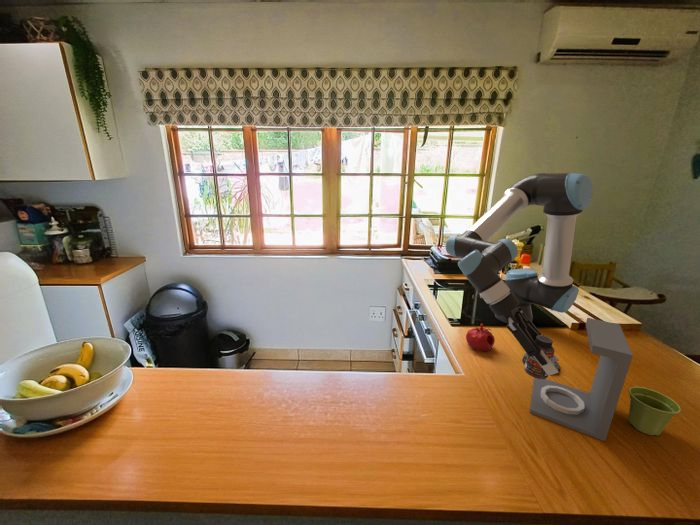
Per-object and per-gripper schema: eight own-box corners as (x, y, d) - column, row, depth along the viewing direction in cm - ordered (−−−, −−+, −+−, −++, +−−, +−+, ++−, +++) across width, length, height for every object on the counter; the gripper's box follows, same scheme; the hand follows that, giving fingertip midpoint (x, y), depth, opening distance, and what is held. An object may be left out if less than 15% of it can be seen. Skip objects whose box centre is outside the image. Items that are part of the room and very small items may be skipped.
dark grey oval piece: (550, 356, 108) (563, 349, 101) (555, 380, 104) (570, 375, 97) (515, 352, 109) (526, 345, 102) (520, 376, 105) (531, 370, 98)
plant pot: (621, 407, 84) (630, 381, 82) (669, 427, 78) (680, 399, 75) (618, 425, 78) (627, 398, 75) (669, 449, 71) (681, 419, 69)
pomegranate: (464, 350, 111) (467, 328, 108) (465, 337, 120) (468, 316, 117) (493, 356, 107) (497, 333, 104) (492, 342, 116) (496, 321, 113)
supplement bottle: (521, 373, 86) (529, 338, 83) (526, 364, 90) (534, 330, 87) (545, 383, 82) (554, 346, 79) (550, 373, 86) (558, 338, 83)
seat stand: (534, 378, 96) (549, 309, 89) (597, 398, 87) (619, 324, 81) (529, 412, 81) (547, 333, 75) (605, 441, 73) (632, 355, 66)
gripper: (494, 294, 97) (542, 356, 93) (481, 315, 82) (538, 390, 78) (515, 283, 93) (567, 347, 88) (506, 302, 78) (568, 381, 73)
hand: (553, 367), depth 83 cm, fingers closed on supplement bottle, 6 cm apart
